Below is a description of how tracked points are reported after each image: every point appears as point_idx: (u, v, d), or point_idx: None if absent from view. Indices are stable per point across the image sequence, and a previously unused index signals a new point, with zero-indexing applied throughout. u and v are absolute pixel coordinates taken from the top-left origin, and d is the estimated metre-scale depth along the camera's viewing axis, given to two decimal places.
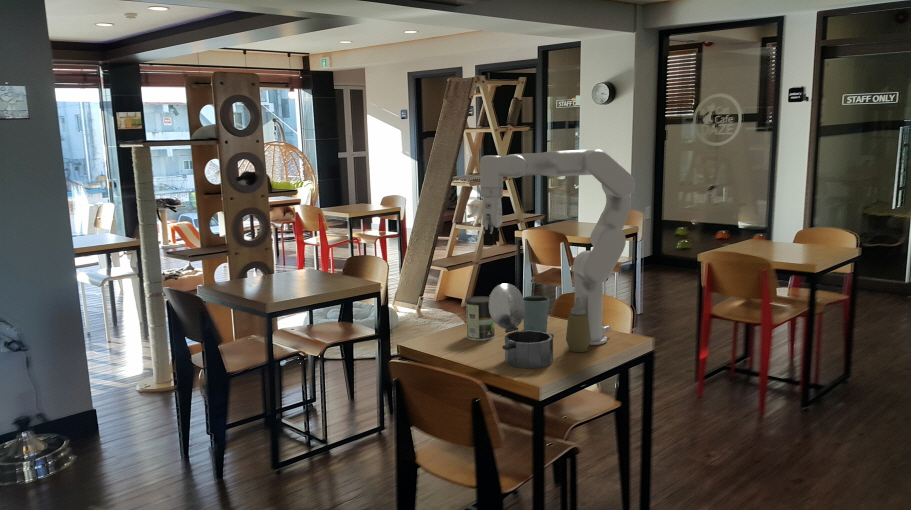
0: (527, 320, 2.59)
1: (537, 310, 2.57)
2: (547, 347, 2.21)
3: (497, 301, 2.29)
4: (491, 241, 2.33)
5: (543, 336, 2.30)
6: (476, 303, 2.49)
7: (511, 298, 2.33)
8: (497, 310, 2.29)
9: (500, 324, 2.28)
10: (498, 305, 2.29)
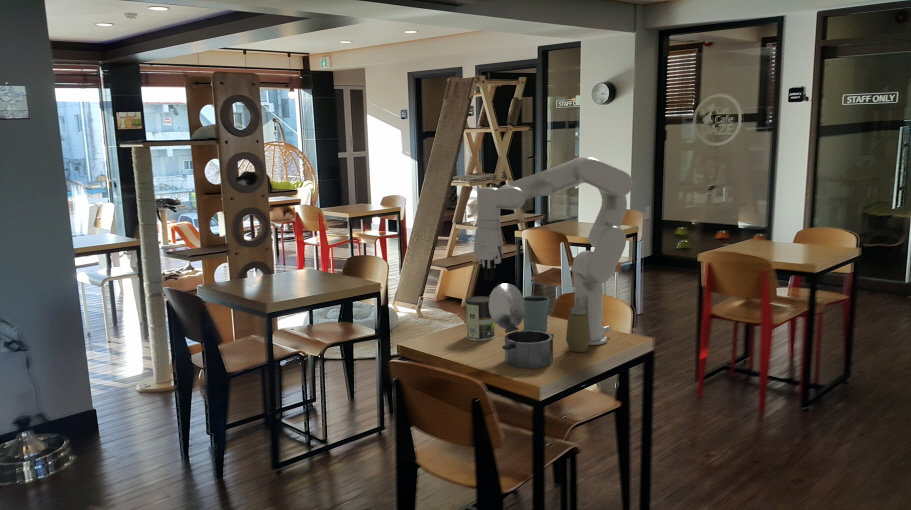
0: (527, 320, 2.59)
1: (537, 310, 2.57)
2: (547, 347, 2.21)
3: (497, 301, 2.29)
4: None
5: (543, 336, 2.30)
6: (476, 303, 2.49)
7: (511, 298, 2.33)
8: (497, 310, 2.29)
9: (500, 324, 2.28)
10: (498, 305, 2.29)
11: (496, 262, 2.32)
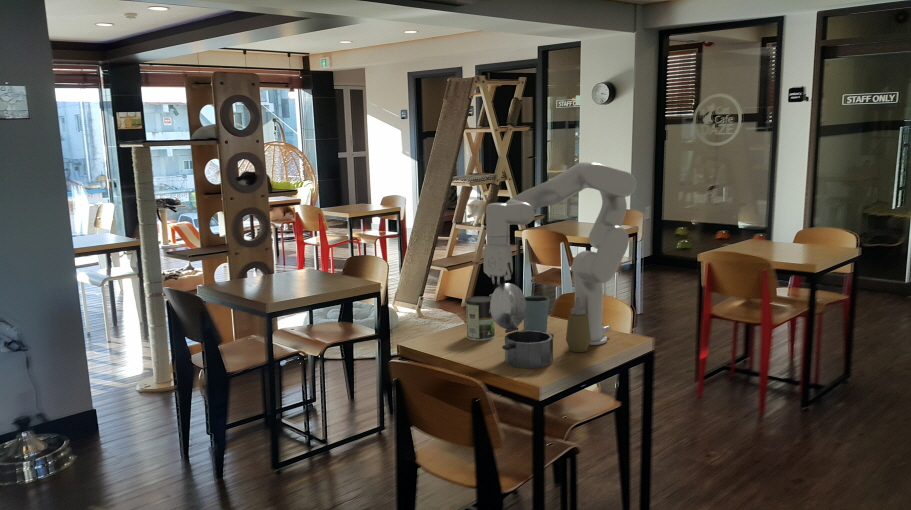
0: (527, 320, 2.59)
1: (537, 310, 2.57)
2: (547, 347, 2.21)
3: (499, 301, 2.29)
4: None
5: (543, 336, 2.30)
6: (476, 303, 2.49)
7: (513, 298, 2.32)
8: (498, 310, 2.28)
9: (500, 324, 2.28)
10: (499, 305, 2.29)
11: (506, 278, 2.30)
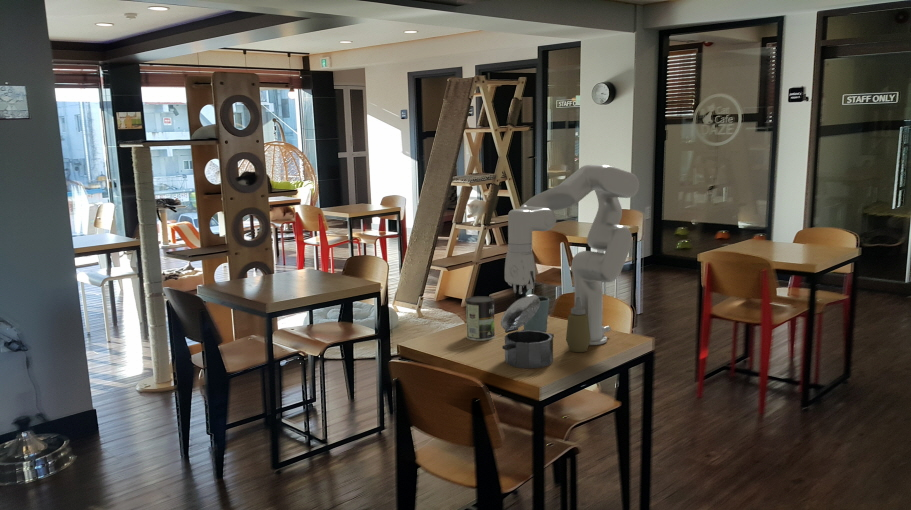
0: None
1: None
2: (547, 347, 2.21)
3: (514, 310, 2.23)
4: None
5: (543, 336, 2.30)
6: (476, 303, 2.49)
7: (528, 307, 2.27)
8: (509, 317, 2.24)
9: (504, 327, 2.27)
10: (513, 313, 2.24)
11: (528, 288, 2.22)
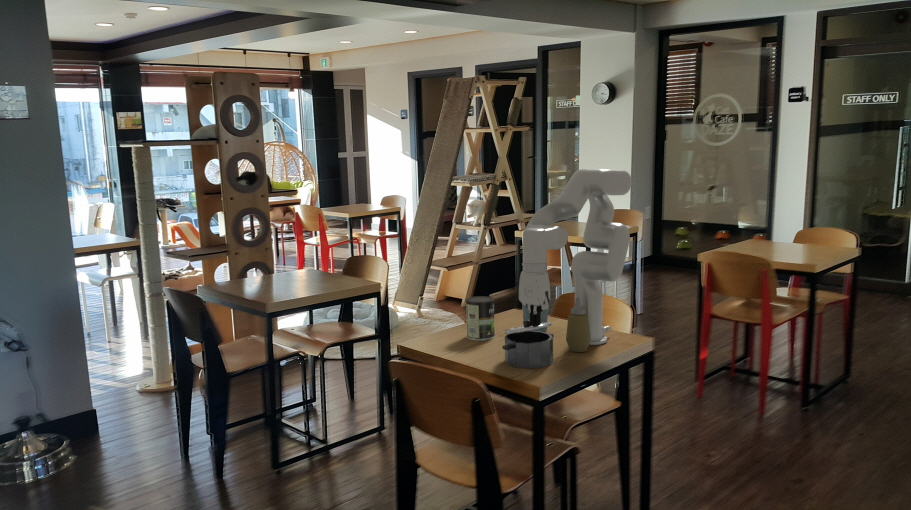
0: None
1: None
2: (547, 347, 2.21)
3: None
4: None
5: (543, 336, 2.30)
6: (476, 303, 2.49)
7: None
8: None
9: None
10: None
11: (543, 308, 2.17)
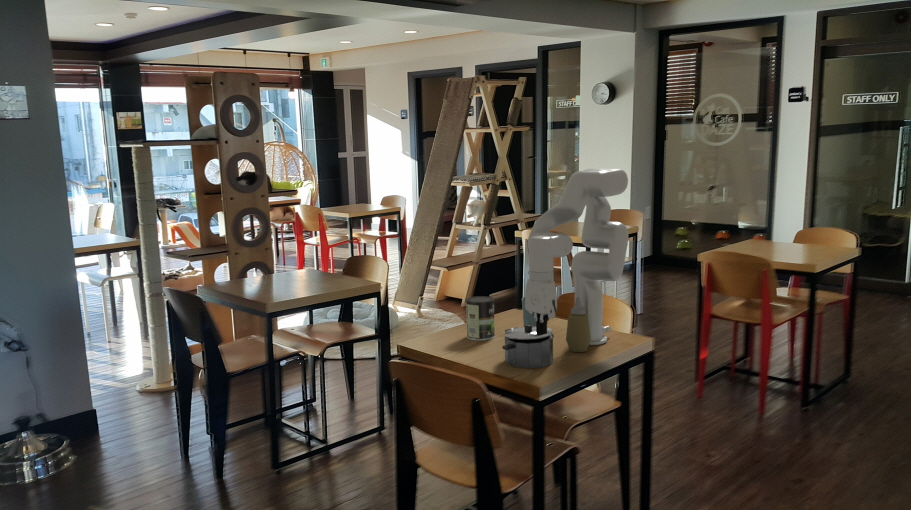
0: (527, 320, 2.59)
1: None
2: (547, 347, 2.21)
3: None
4: None
5: None
6: (476, 303, 2.49)
7: None
8: None
9: None
10: None
11: (550, 316, 2.16)
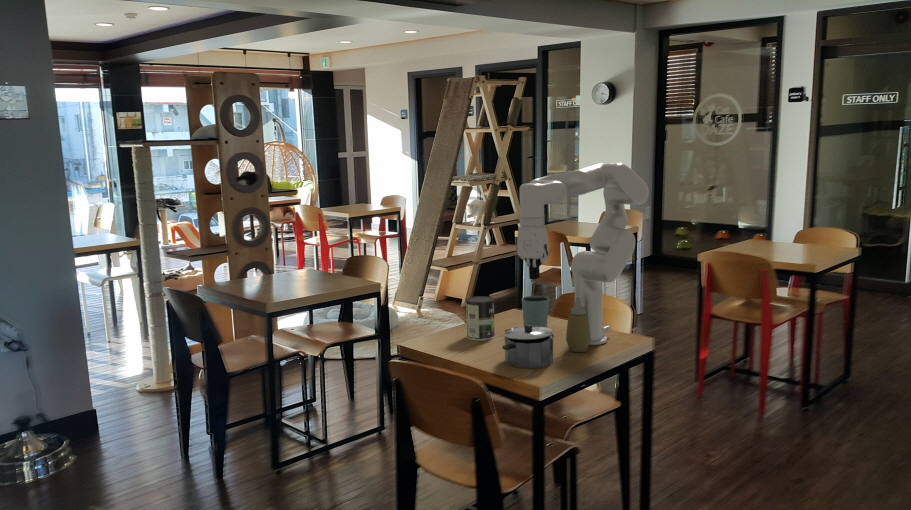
0: (527, 320, 2.59)
1: (537, 310, 2.57)
2: (547, 347, 2.21)
3: None
4: None
5: None
6: (476, 303, 2.49)
7: None
8: None
9: None
10: None
11: (543, 261, 2.23)
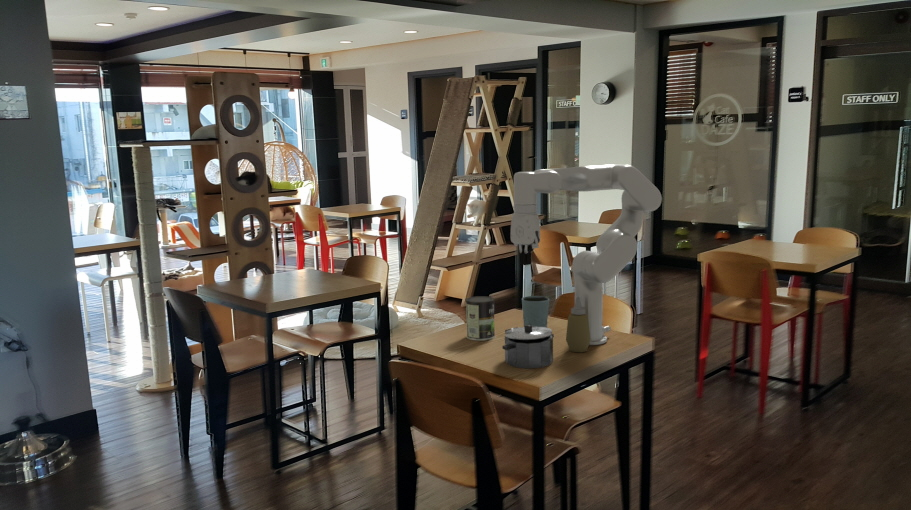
0: (527, 320, 2.59)
1: (537, 310, 2.57)
2: (547, 347, 2.21)
3: None
4: None
5: None
6: (476, 303, 2.49)
7: None
8: None
9: None
10: None
11: (534, 247, 2.31)
